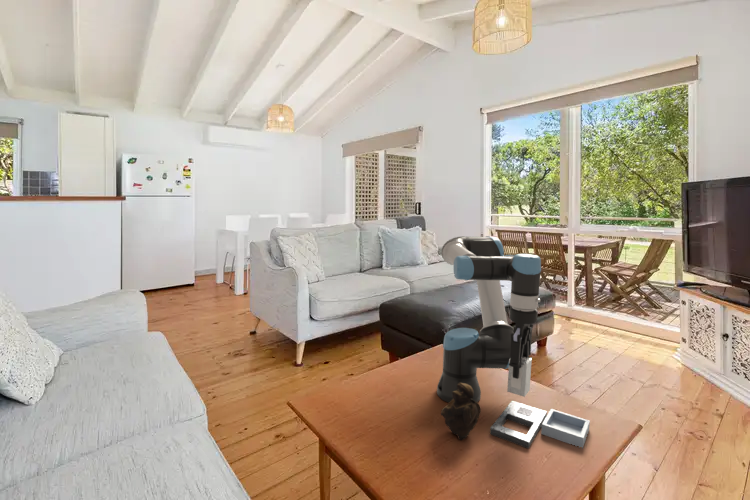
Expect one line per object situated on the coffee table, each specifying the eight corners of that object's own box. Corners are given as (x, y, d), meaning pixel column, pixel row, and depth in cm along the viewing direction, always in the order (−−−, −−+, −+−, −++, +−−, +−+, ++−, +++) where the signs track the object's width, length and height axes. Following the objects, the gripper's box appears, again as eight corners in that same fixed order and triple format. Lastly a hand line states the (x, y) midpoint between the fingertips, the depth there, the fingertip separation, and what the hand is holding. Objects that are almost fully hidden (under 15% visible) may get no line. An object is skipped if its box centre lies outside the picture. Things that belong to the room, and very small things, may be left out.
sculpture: (428, 420, 115) (450, 374, 116) (454, 431, 119) (475, 386, 120) (448, 440, 105) (472, 389, 106) (476, 450, 109) (498, 401, 111)
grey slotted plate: (490, 434, 114) (490, 427, 114) (511, 406, 130) (512, 400, 130) (528, 448, 108) (528, 441, 107) (546, 417, 124) (546, 411, 123)
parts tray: (541, 433, 115) (541, 424, 114) (550, 417, 123) (550, 408, 123) (582, 448, 108) (583, 438, 108) (589, 430, 117) (589, 420, 116)
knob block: (507, 391, 115) (509, 357, 113) (512, 385, 119) (514, 352, 117) (524, 396, 112) (526, 362, 110) (529, 390, 116) (531, 356, 114)
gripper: (528, 317, 102) (522, 400, 106) (545, 303, 117) (540, 376, 120) (500, 312, 107) (495, 391, 110) (520, 299, 121) (515, 369, 124)
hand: (518, 383), depth 115 cm, fingers closed on knob block, 5 cm apart
